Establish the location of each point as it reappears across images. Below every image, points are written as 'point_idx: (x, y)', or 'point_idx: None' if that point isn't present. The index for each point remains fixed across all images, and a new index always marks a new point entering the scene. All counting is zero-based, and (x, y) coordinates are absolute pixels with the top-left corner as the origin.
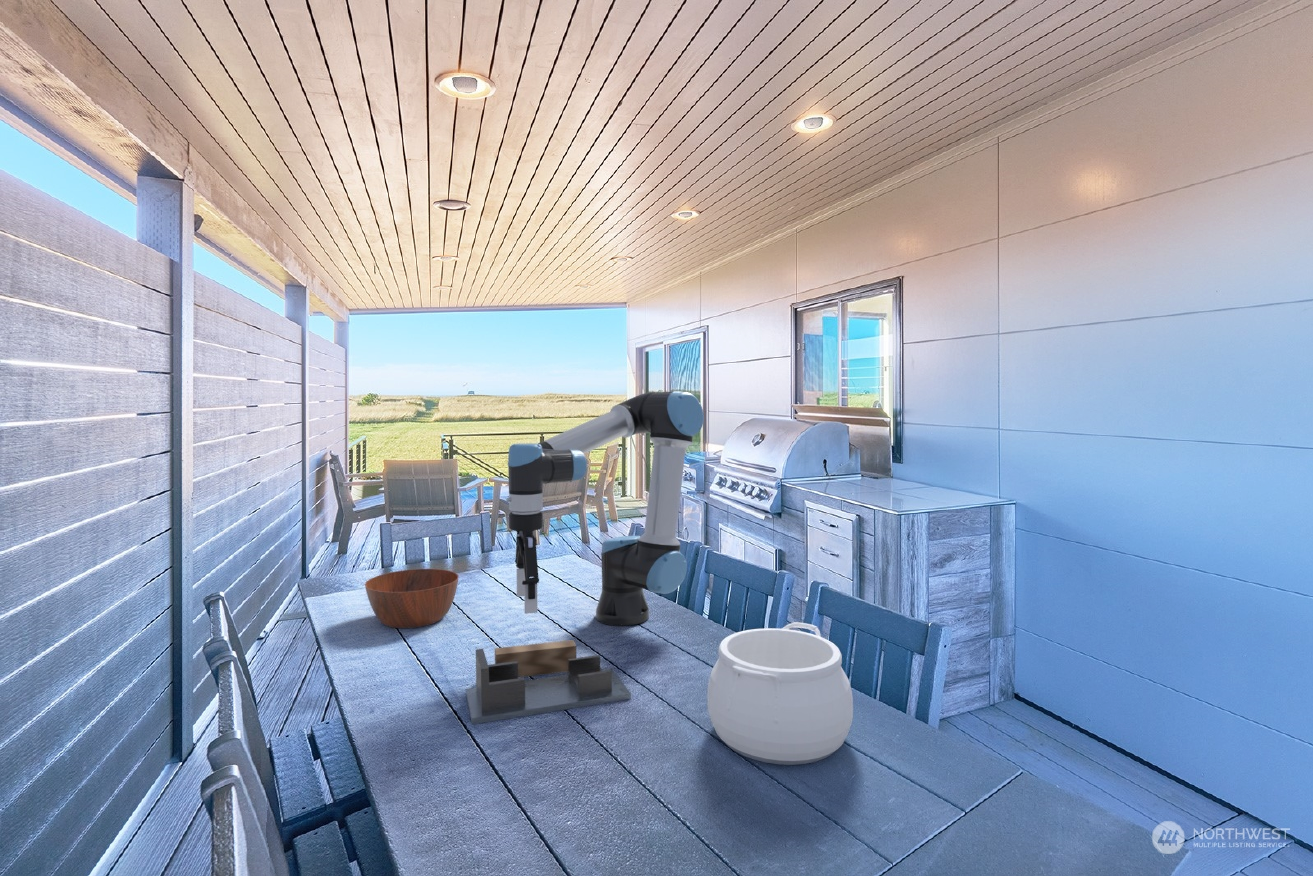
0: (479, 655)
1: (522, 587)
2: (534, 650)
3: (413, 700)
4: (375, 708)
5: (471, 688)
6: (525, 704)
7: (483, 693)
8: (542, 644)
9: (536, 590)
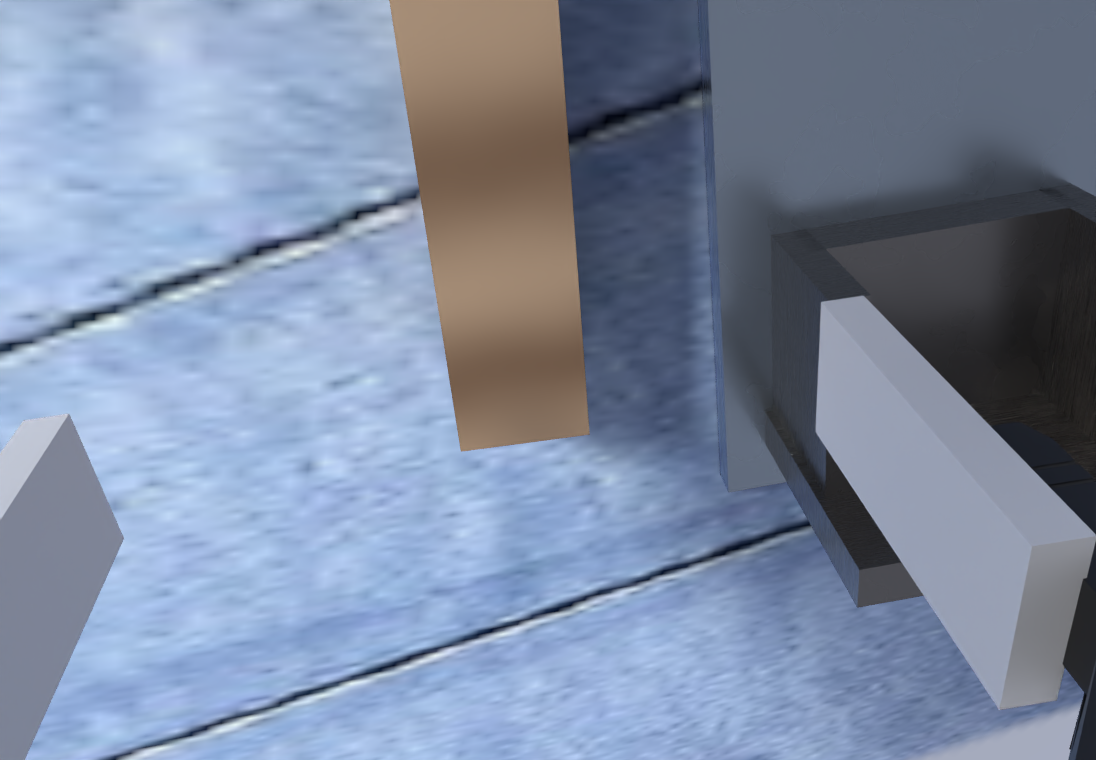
0: None
1: (58, 562)
2: (569, 167)
3: (705, 659)
4: (736, 756)
5: (728, 469)
6: (1056, 183)
7: None
8: (436, 95)
9: (1017, 467)
